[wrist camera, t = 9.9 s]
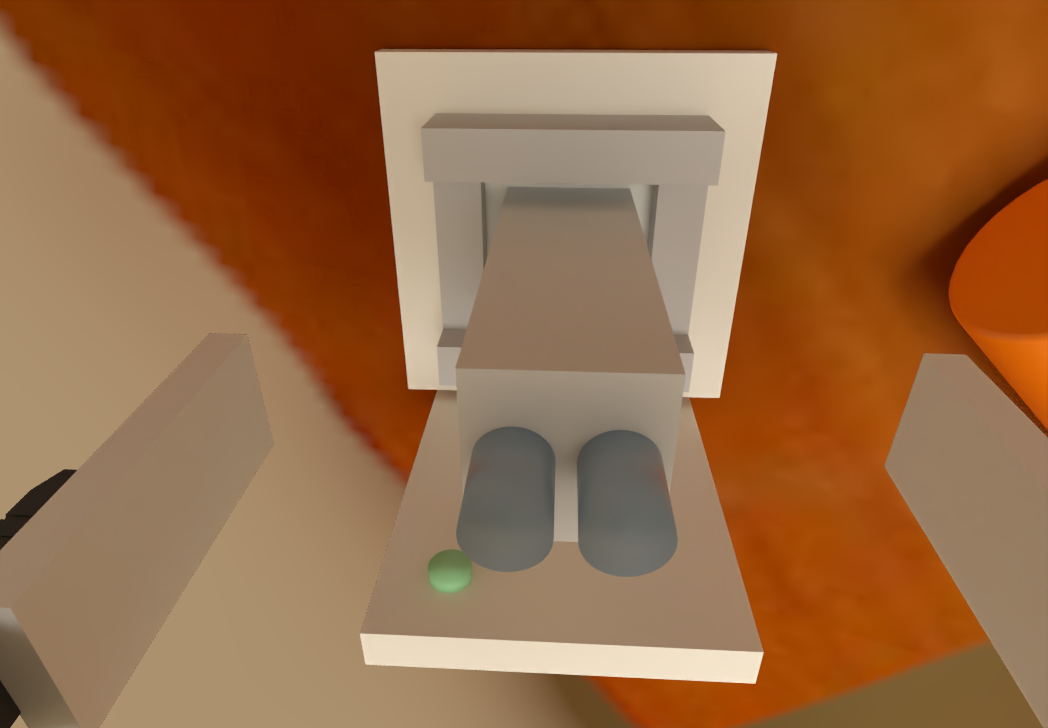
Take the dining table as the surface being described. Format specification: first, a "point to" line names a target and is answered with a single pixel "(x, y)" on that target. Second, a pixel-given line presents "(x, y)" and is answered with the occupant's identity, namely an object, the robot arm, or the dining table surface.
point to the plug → (568, 389)
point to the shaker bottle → (1010, 295)
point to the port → (445, 308)
